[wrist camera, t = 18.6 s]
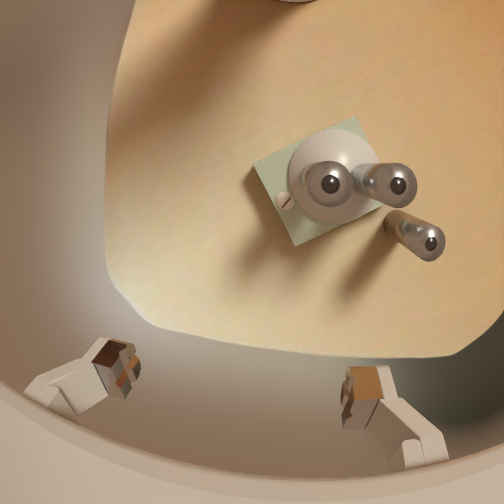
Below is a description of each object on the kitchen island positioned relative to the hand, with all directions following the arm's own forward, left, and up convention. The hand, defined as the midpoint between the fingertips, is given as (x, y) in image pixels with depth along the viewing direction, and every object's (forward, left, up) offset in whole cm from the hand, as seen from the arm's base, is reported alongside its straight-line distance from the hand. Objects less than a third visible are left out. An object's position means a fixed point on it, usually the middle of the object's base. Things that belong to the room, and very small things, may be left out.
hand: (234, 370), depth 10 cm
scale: (-1, +9, -35) cm, 36 cm away
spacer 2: (+1, +14, -31) cm, 34 cm away
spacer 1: (-2, +8, -31) cm, 32 cm away
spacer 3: (+10, +17, -35) cm, 40 cm away
